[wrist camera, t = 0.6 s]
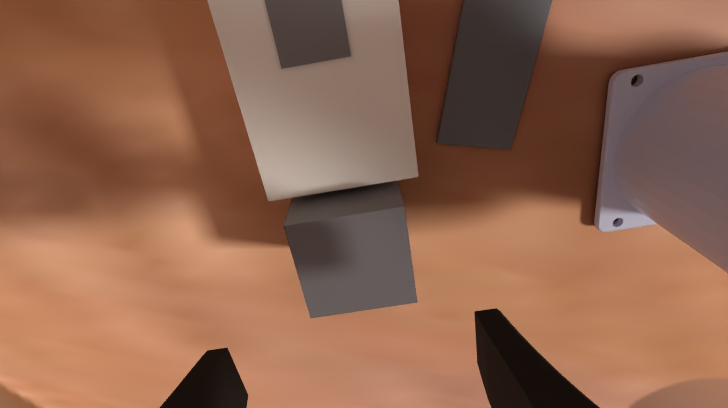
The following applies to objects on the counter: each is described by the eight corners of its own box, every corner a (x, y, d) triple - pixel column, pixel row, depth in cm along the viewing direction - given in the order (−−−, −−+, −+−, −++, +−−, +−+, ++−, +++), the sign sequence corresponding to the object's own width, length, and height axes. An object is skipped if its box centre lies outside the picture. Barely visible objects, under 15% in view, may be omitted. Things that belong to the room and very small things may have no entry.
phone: (465, -30, 16) (470, -32, 15) (548, -20, 16) (557, -21, 16) (434, 138, 19) (437, 143, 18) (504, 144, 19) (510, 149, 19)
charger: (289, 133, 18) (268, 175, 13) (385, 117, 18) (397, 153, 13) (319, 251, 21) (310, 318, 16) (402, 238, 20) (417, 302, 16)
